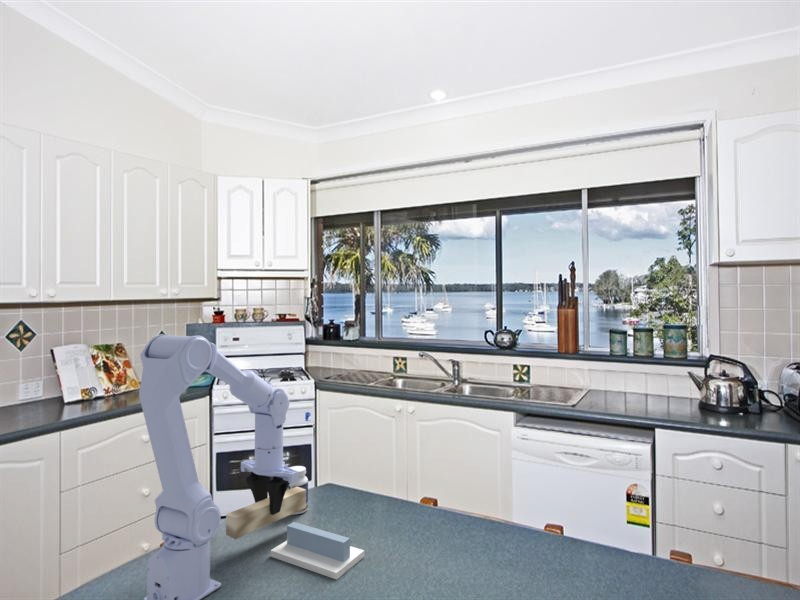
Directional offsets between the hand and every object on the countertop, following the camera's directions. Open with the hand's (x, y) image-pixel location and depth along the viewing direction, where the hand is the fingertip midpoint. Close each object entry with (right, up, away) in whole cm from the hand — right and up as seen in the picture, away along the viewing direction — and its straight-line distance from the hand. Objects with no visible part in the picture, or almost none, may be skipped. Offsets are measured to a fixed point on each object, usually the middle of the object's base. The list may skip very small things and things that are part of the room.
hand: (268, 510), depth 99 cm
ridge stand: (+11, -6, -6) cm, 14 cm away
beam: (0, -2, 0) cm, 2 cm away
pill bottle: (+3, -7, +15) cm, 16 cm away
